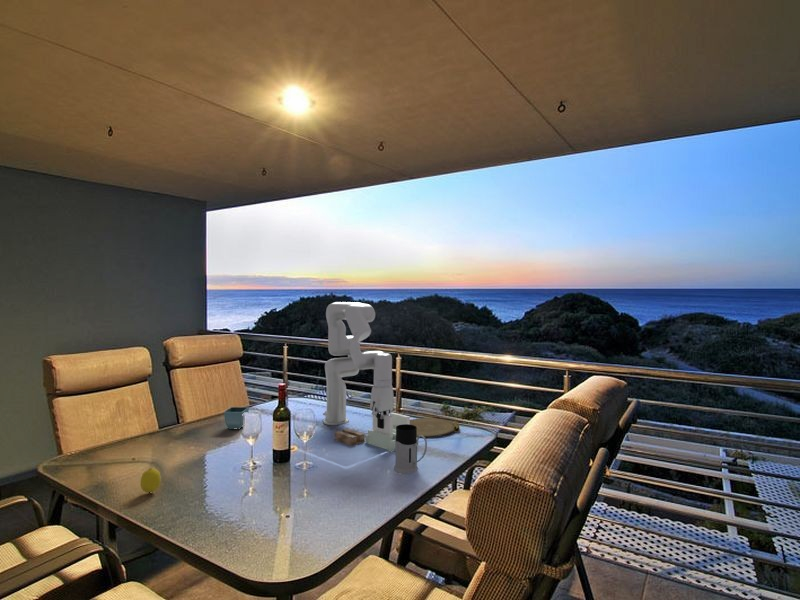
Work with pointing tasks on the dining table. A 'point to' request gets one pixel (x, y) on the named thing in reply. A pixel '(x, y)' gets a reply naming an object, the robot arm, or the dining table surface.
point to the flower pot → (234, 417)
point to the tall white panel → (387, 425)
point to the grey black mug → (407, 449)
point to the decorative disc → (434, 427)
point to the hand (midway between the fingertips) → (382, 427)
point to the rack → (386, 440)
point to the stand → (349, 437)
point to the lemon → (150, 480)
